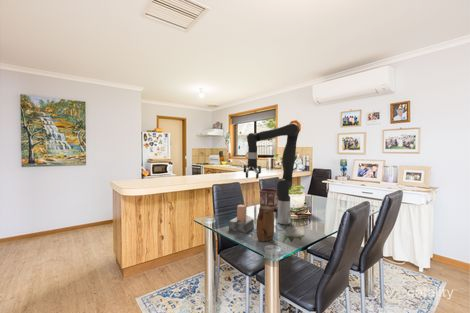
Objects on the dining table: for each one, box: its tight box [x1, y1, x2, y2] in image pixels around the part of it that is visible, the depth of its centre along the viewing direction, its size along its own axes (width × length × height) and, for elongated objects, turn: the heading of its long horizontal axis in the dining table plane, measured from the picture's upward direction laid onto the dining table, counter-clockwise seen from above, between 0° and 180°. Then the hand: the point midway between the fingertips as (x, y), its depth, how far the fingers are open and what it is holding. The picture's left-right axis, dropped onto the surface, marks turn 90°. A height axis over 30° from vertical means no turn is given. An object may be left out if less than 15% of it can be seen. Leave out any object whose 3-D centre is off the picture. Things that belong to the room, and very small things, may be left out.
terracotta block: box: [236, 204, 248, 221], centre depth 159 cm, size 5×4×10 cm
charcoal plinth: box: [228, 216, 255, 234], centre depth 160 cm, size 13×13×6 cm
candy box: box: [304, 194, 313, 215], centre depth 199 cm, size 14×6×16 cm, turn 84°
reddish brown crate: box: [259, 188, 278, 211], centre depth 211 cm, size 18×18×18 cm
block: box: [255, 206, 275, 242], centre depth 141 cm, size 11×8×20 cm
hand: (252, 178), depth 183 cm, fingers open, 8 cm apart
